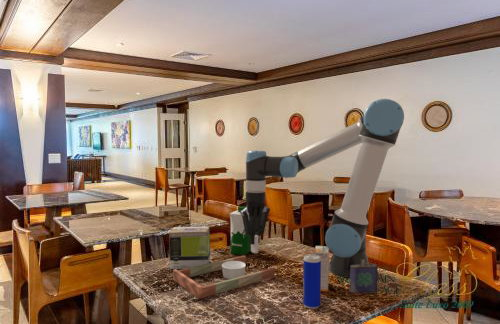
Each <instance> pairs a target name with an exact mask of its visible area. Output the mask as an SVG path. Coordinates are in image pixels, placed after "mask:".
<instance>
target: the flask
mask: <svg viewBox="0 0 500 324" xmlns="http://www.w3.org/2000/svg"><path fill="white" fill-rule="evenodd" d="M378 268H379V266H378V265H377V264H375V263H372V262H371V263H366V262H365V260H364V259H362V262H361V264H359V265H351V266H350V278H349V293H351V294H354V295H355V294H356V295H358V294H363V295H364V294H369V293H370V294H373V293H374V294H376V293H377V292H378V273H379V272H378V271H379V270H378Z"/></svg>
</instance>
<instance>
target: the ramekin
mask: <svg viewBox="0 0 500 324" xmlns="http://www.w3.org/2000/svg"><path fill="white" fill-rule="evenodd" d="M246 267H247V265H246V264H245V263H243V262H240V261H229V262H225V263H223V264H222V269H221V270H222V277H223V278H224V279H226V280H229V279H232V278H236V277H240V276H244V275H246Z"/></svg>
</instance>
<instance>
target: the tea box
mask: <svg viewBox="0 0 500 324" xmlns="http://www.w3.org/2000/svg"><path fill="white" fill-rule="evenodd" d="M168 234H169V235H168V236H169V237H168V238H169V239H168V241H169V243H168V244H169V245H168V246H169V269H170V270H175V269H177V270H182V269H187V268H191V267H195V266H200V265H204V264H209V263H211V243H210V241H211V239H210V238H211V237H210V236H211V235H210V234H211V232H210V226H207V225H206V226H204V225H203V226H174V227H172V229H171V230H170V231H169V232H168Z"/></svg>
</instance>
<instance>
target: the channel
mask: <svg viewBox="0 0 500 324" xmlns="http://www.w3.org/2000/svg"><path fill="white" fill-rule="evenodd" d="M229 261H240V262H243V263H245V264H246V263H247V256H246V255H240V256H236V257H230V258H226V259H223V260H218V261H214V262H213V261H212V262H209V264H204V265H200V266H195V267H191V268H187V269H172V280H173V281H174V282H176V283H177V284H178V285H180V286H181V287H182V288H184V289H185V290H187V291H188V292H190V294H192V295H194V297H196V298H197V299H202V298H206V297H208V296H213V295H216V294H220V293H223V292H227V291H229V290H234V289H237V288H240V287H244V286H247V285H251V284H255V283H258V282H261V281H265V280H269V279H272V278H275V272H276V271H275V268H274V267H271V268H265V269H263V270H260V271H256V272H252V273H248V274H245V275H244V276H240V277H236V278H232V279H226V280H222V281H218V282H214V283H209V284H207V285H204V286H202V285H201V284H199V283H197V281H195V280H193V279H192V277H195V276H200V275H204V274H207V273H213V272H216V271H221V270H223V269H222V264H223V263H225V262H229Z"/></svg>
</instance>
